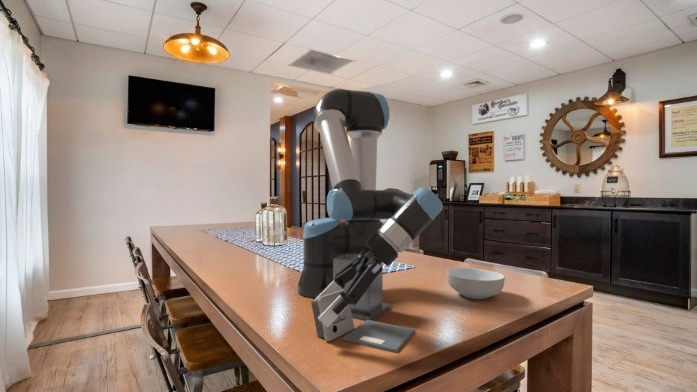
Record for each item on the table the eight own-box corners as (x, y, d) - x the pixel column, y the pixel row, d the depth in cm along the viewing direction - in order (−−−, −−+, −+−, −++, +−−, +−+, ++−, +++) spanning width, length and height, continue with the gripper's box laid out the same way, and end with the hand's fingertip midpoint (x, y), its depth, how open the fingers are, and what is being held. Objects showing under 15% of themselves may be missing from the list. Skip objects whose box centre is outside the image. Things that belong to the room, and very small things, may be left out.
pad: (343, 340, 75) (343, 337, 75) (367, 322, 85) (367, 319, 85) (396, 352, 69) (396, 349, 69) (414, 331, 80) (414, 328, 80)
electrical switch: (327, 343, 73) (325, 299, 74) (310, 339, 76) (308, 296, 77) (355, 330, 81) (352, 289, 81) (338, 327, 84) (335, 288, 84)
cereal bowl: (477, 307, 97) (477, 282, 97) (435, 292, 112) (436, 270, 112) (516, 299, 105) (516, 275, 105) (473, 286, 120) (473, 265, 120)
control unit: (324, 312, 92) (324, 259, 92) (345, 299, 103) (346, 252, 103) (372, 321, 86) (372, 264, 86) (390, 307, 96) (390, 257, 96)
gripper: (416, 264, 69) (339, 346, 67) (385, 246, 92) (327, 306, 90) (391, 238, 68) (311, 320, 66) (365, 226, 92) (306, 287, 89)
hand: (320, 312), depth 78 cm, fingers open, 11 cm apart
